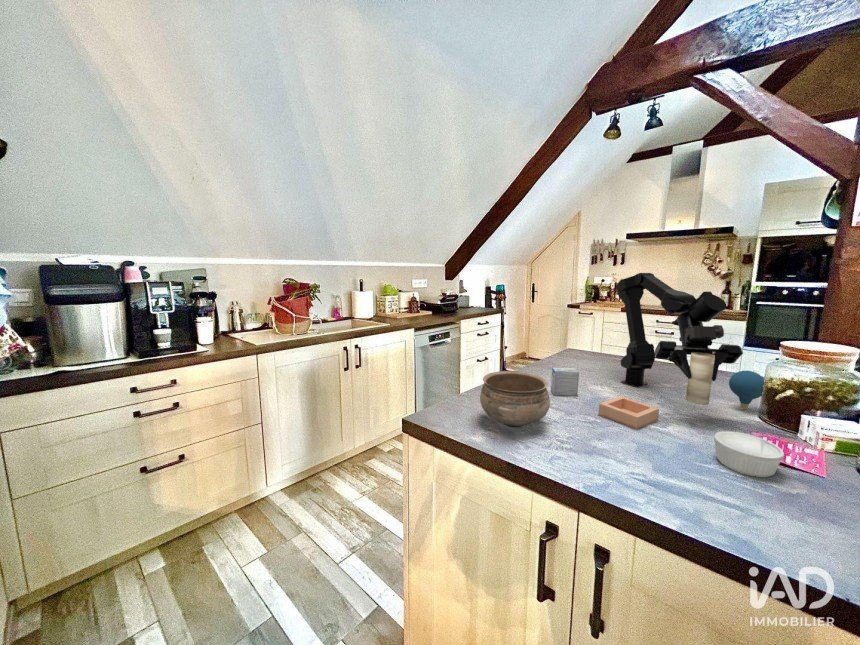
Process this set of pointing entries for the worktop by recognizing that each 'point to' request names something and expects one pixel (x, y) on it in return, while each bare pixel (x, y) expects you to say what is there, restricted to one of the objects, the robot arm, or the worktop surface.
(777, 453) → the ramekin
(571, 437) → the worktop surface
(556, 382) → the medicine box
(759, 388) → the light bulb
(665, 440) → the worktop surface
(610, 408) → the tray
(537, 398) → the cooking pot
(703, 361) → the vase
